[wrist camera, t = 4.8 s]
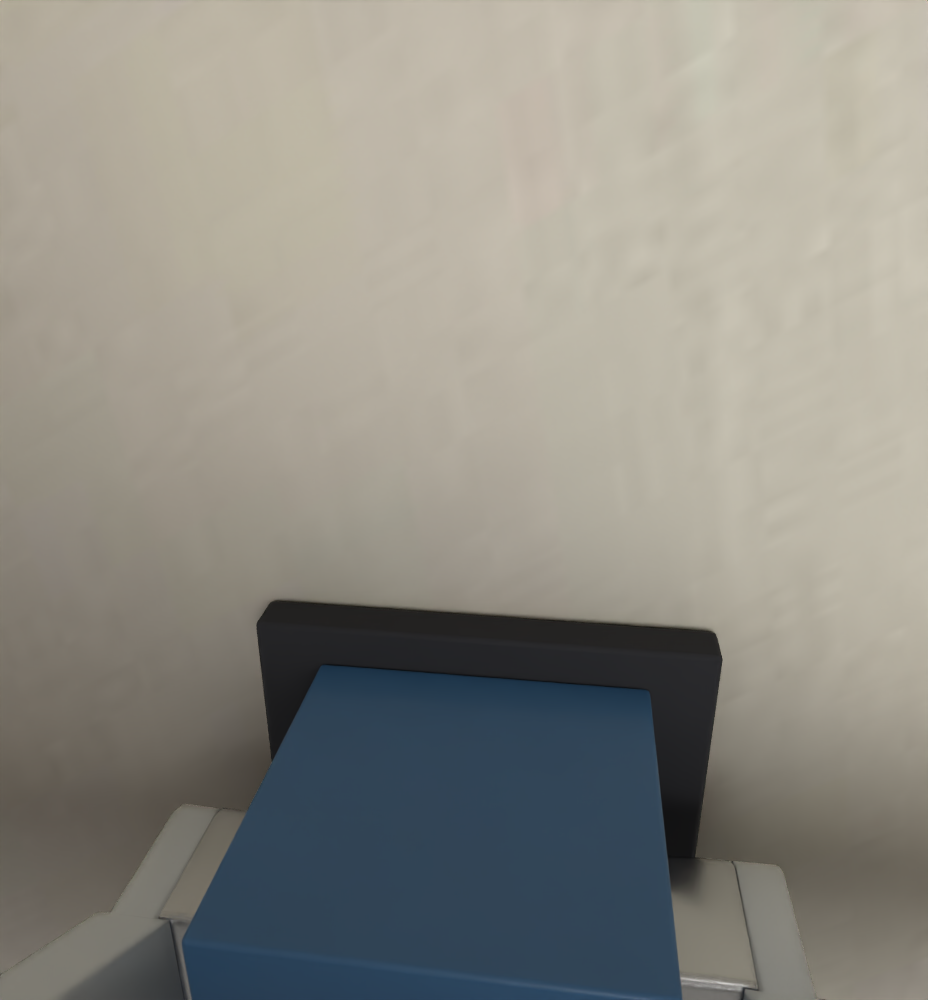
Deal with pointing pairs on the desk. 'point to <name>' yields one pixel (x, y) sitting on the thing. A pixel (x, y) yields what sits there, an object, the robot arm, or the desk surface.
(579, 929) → the blue cube
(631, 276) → the desk surface
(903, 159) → the desk surface
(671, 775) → the mat
